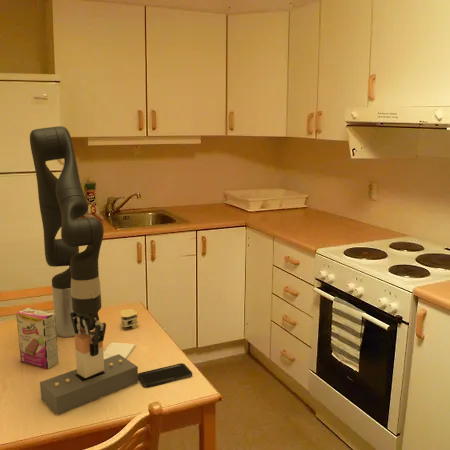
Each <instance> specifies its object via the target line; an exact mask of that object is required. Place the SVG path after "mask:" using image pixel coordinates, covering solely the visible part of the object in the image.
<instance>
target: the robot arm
mask: <svg viewBox="0 0 450 450" xmlns="http://www.w3.org/2000/svg"><path fill="white" fill-rule="evenodd" d="M29 144H30V151H31V155H32V159H33V166H34V171H35V175H36V176H35V177H36V183H37V194H38V203H39V210H40V216H41V222H42V228H43V229H42V230H43V242H44V244H43V245H44V246H43V247H44V258H45V262H46V264H47V265H48V267H54V268H56V267H68V268H67V269H65V270H63V271H62V272H59V273H58V274H55V275H54V276H53V277H52V278H51V287H52V289H51V291H52V301H53V302H52V303H53V313H54V314H55V322H56V335H57V336H58V337H63V338H68V337H69V338H70V337H75V335H78V334H82V333H84V332H86V335H87V336H88V337H89V342H90V355H91V356H92V357H93V356H96V355H98V353H99V349H98V343H99V342H102V341H103V342H104V339H105V334H106V329H107V323H106V322H101V321H100V317H99V312H100V310H101V309H102V292H101V291H102V290H101V281H100V273H99V271H100V270H99V257H100V256H99V255H100V252H101V246H102V244H103V239H104V231H105V229H104V225H103V223H102V221H101V220H100V219H99V218H97V217H93V216H92V217H91V216H90V217H84V216H85V215H86V214H87V213H88V211H89V205H88V202H87V199H86V196H85V195H86V194H85V193H84V190H83V187H82V183H81V179H80V175H79V168H78V163H77V158H76V153H75V149H74V144H73V140H72V137H71V134H70V131H69V130H68V128H66V127H65V126H59V125H58V126H52V127H51V126H50V127H42V128H35V129H32V130H31V131H30V134H29ZM62 159H63V161H64V164H63V167H62V171H61V173H60V175H59V177H57V176H56V175H54V173H53V172H52V171H51V170H50V168H49V166H48V165H47V162H49V161H56V160H62ZM82 217H83V218H82ZM59 231H60V237H61V238H56V237H57V234H58V233H59ZM84 246H85V247H86V248H85V249H84V250H83V251H81V252H80V247H84ZM93 329H95V330H94V331H91V332H90V330H93ZM93 334H94V339H93V337H92V335H93Z"/></svg>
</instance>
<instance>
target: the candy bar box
mask: <svg viewBox="0 0 450 450" xmlns="http://www.w3.org/2000/svg"><path fill="white" fill-rule="evenodd" d="M15 314H16V323H17V334H18V335H17V336H18V345H19V357H20V362H21V363H24V364H28V365H32V366H34V367H38V368H42V369H46V370H49V369H52V367H54V366H56V365H57V364H59V355H58V354H59V350H58V338H57V336H58V335H56V322H55V314H54V312H49V311H45V310H41V309H40V310H39V309H36V308H31V307H26V308H23V309H21V310H18V311H17V312H16V313H15Z"/></svg>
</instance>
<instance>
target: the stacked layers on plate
mask: <svg viewBox="0 0 450 450" xmlns="http://www.w3.org/2000/svg"><path fill="white" fill-rule="evenodd" d="M137 314H138V311H136V310H135V309H133V308H128V309H121V310H120V316H121V317H120V320H121V326H122V327H124V328H126V327H127V328H128V327H131V329H136V328H137V327H138V323H139V321H138V318H139V316H138V315H137Z"/></svg>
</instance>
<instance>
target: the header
mask: <svg viewBox="0 0 450 450" xmlns="http://www.w3.org/2000/svg"><path fill="white" fill-rule="evenodd" d="M138 373H139V370H138V366H137V365H136V364H135V363H133V362H131V361H130V360H129V359H128V358H127V359H126V358H124V357H123V356H121V355H119V354H118V355H115V356H112V357H110V358H107V359H104V371H101V372H99V373H97V374H94V375H92V376H90V377H87V378H84V377H82V376H81V375H79V374H78V373H77V368H76V369H73V370H70V371H67V372H65V373H61V374H59V375H56V376H53V377H51V378H48V379H45V380H42V381H40V382H39V389H40V399H41V401H42V402H44V403H45V404H46V406H48V408H49V409H51V410H52V412H54V414H55V415H57V416H60V415H62V414H64V413H67V412H70V411H71V410H73V409H77V408H79V407H81V406H84V405H86V404H89V403H91V402H94V401H97V400H99V399H102V398H104V397H106V396H109V395H111V394H113V393H116V392H118V391H121V390H123V389H126V388H129V387H130V386H133V385H135V384H138V383H139V381H138Z"/></svg>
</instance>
